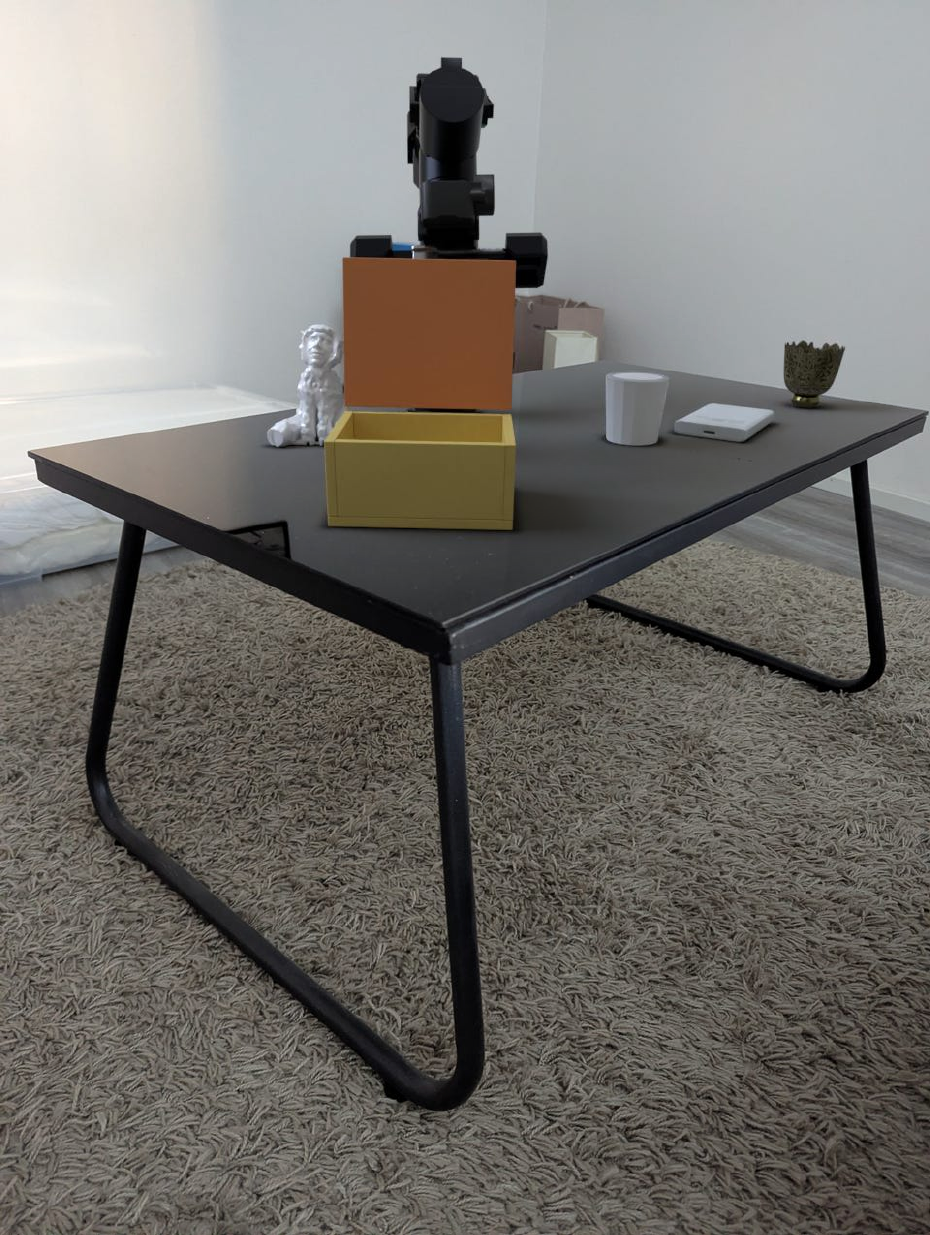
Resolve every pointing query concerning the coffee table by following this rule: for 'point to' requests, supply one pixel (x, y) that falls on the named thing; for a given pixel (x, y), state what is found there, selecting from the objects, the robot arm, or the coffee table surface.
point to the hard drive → (724, 422)
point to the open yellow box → (421, 470)
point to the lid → (428, 333)
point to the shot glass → (634, 406)
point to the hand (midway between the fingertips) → (450, 343)
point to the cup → (810, 371)
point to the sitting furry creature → (315, 391)
